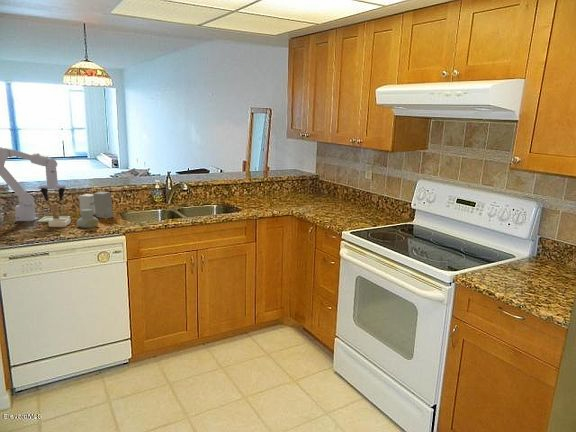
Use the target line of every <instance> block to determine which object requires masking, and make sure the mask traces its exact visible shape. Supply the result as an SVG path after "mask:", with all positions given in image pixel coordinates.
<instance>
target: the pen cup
mask: <svg viewBox="0 0 576 432" xmlns="http://www.w3.org/2000/svg"><path fill="white" fill-rule="evenodd" d="M71 221H72V220H71V218H69V219H53V220H51V221H50V222H47V224H48V227H51V228H53V227H55V228H57V227H58V228H59V227H60V228H62V227H65V228H66V227H67V226H68V225H70V224H71V223H72V222H71Z"/></svg>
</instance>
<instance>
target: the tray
mask: <svg viewBox="0 0 576 432" xmlns="http://www.w3.org/2000/svg"><path fill="white" fill-rule="evenodd" d="M59 219H71V215H59ZM51 220H53V215H48V216H47V215H45V216H44V217H42V218H40V219H39V220H37V221H36V222H37V223H48V222H50V221H51Z"/></svg>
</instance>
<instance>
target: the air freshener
mask: <svg viewBox="0 0 576 432" xmlns="http://www.w3.org/2000/svg"><path fill="white" fill-rule="evenodd" d="M80 216H81V217H79V218H78V219H77V220H76V225H77V226H78V227H80V228H82V229H90V228H91V229H92V228H94V227H96V226H98V225H99V219H98V217H96V216H94V215H93V210H92V209H82V210H81V215H80Z"/></svg>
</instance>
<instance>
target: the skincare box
mask: <svg viewBox="0 0 576 432" xmlns="http://www.w3.org/2000/svg"><path fill="white" fill-rule="evenodd" d="M93 196H94V203H95V210H96V214H95V215H96V216H95V217H96V218H101V219H104V220H107V219H111V218H114V209H113V201H112V194H111V192H109V191H102V190H101V191H97V192H93Z"/></svg>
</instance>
